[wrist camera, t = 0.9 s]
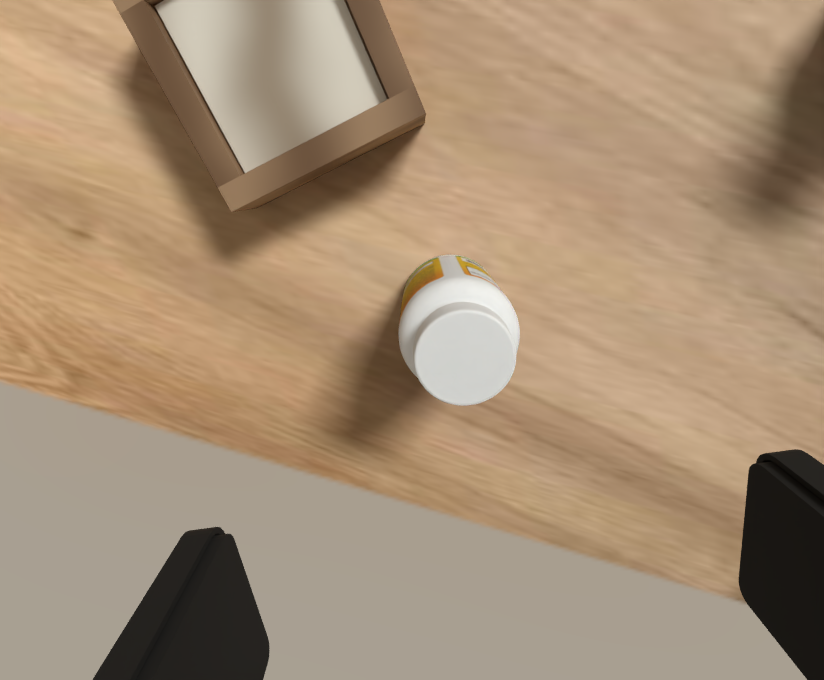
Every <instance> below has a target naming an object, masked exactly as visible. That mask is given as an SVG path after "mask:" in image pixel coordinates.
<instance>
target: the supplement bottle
mask: <svg viewBox="0 0 824 680" xmlns="http://www.w3.org/2000/svg"><path fill="white" fill-rule="evenodd" d="M398 336H399V345H400V350H401V353H402V356H403V358H404V360H405V362H406V364H407V365H408V367H409V369H410V370H411V371H412V373H413V374H414V375H415V376H416V377H417V378H418V379H419V381H420V383H421V384H422V385H423V387H424V388H425V389H426V390H427V391H428V392H429V393H430V394H431V395H433V396H434V397H435V398H437V399H439V400H441V401H443V402H446V403H449V404H453V405H464V406H466V405H474V404H478V403H481V402H484V401H486V400H488V399H490V398H492V397H494V396H495V395H496V394H498V393H499V392H500V391H501V390H502V389H503V388H504V387H505V386H506V385H507V383H508V382H509V380H510V378H511V376H512V374H513V372H514V368H515V364H516V353H517V350H518V346H519V340H520V328H519V322H518V318H517V315H516V313H515V311H514V308H513V306H512V304H511V303H510V301H509V299H508V298H507V297H506V295H505V294H504V293H503V291H502V290H501V289H500V288H499V286H498V285H497V284H496V282H495V281H494V280H493V278H492V277H491V276H490V275H489V273H488V272H487V271H486V270H485V269H484V268H483V267H482V266H481V265H479V264H478V263H477V262H475V261H473V260H471V259H469V258H467V257H464V256H459V255H442V256H438V257H434V258H432V259H430V260H428V261H426V262H424V263H423V264H422V265H420V266H419V267H418V268H417V269H416V270H415V271H414V272H413V273H412V275H411V276H410V277H409V279H408V281H407V283H406V286H405V289H404V292H403V297H402V305H401V313H400V321H399V331H398Z"/></svg>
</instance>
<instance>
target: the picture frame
mask: <svg viewBox="0 0 824 680" xmlns="http://www.w3.org/2000/svg"><path fill="white" fill-rule="evenodd" d="M112 1H113V2H114V4H115V6H116V8H117V10H118V11H119V13H120V15H121V17H122V18H123V20H124V22H125V24H126V26H127V27H128V29H129V31H130V33H131V34H132V36H133V38H134V40H135V42H136V43H137V45H138V47H139V49H140V50H141V52H142V54H143V56H144V58H145V59H146V61H147V63H148V65H149V66H150V68H151V70H152V72H153V74H154V75H155V77H156V79H157V81H158V82H159V84H160V86H161V88H162V90H163V91H164V93H165V95H166V97H167V99H168V100H169V102H170V104H171V106H172V107H173V109H174V111H175V113H176V115H177V116H178V118H179V120H180V122H181V123H182V125H183V127H184V129H185V131H186V132H187V134H188V136H189V138H190V139H191V141H192V143H193V145H194V147H195V148H196V150H197V152H198V154H199V155H200V157H201V159H202V161H203V163H204V164H205V166H206V168H207V170H208V171H209V173H210V175H211V177H212V179H213V180H214V182H215V184H216V186H217V188H218V189H219V191H220V193H221V195H222V196H223V198H224V200H225V202H226V204H227V205H228V207H229V209H230V211H231V212H235V211H240V210H246V209H252V208H258V207H259V206H261V205H263V204H265V203H267V202H269V201H271V200H273V199H275V198H277V197H279V196H281V195H283V194H285V193H287V192H289V191H291V190H293V189H295V188H297V187H299V186H301V185H303V184H305V183H307V182H309V181H311V180H313V179H315V178H317V177H319V176H321V175H323V174H325V173H327V172H329V171H331V170H333V169H335V168H337V167H339V166H341V165H343V164H345V163H347V162H349V161H351V160H353V159H355V158H357V157H359V156H361V155H363V154H365V153H367V152H368V151H370V150H372V149H374V148H376V147H378V146H380V145H382V144H384V143H386V142H388V141H390V140H392V139H394V138H396V137H398V136H400V135H402V134H404V133H406V132H408V131H410V130H412V129H414V128H416V127H418V126H420V125H422V124H424V123H425V116H426V113H425V110H424V108H423V105H422V103H421V100H420V98H419V96H418V93H417V91H416V88H415V86H414V83H413V81H412V79H411V76H410V74H409V71H408V69H407V67H406V64H405V62H404V59H403V57H402V54H401V52H400V50H399V47H398V45H397V42H396V40H395V37H394V35H393V33H392V30H391V28H390V25H389V23H388V20H387V18H386V16H385V13H384V11H383V8H382V6H381V4H380V1H379V0H112Z"/></svg>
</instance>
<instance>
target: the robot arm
mask: <svg viewBox="0 0 824 680" xmlns="http://www.w3.org/2000/svg"><path fill="white" fill-rule="evenodd" d="M739 586H740V590H741V593H742V595H743V597H744V599H745V601H746V602H747V604H748V605H749V607H750V608H751V609H752V610H753V612H754V613H755V614H756V615H757V617H758V618H759V619H760V620H761V622H762V623H763V624H764V626H765V627H766V628H767V629H768V631H769V632H770V633H771V634H772V636H773V637H774V638H775V639H776V641H777V642H778V643H779V644H780V646H781V647H782V648H783V649H784V651H785V652H786V653H787V654H788V656H789V657H790V658H791V659H792V661H793V662H794V663H795V665H796V666H797V667H798V668H799V670H800V671H801V672H802V673H803V675H804V676H805V677H806V678H807V680H824V465H823V464H822V463H820V462H819V461H817V460H816V459H815V458H813V457H812V456H810V455H809V454H807V453H806V452H804V451H802V450H796V449H795V450H787V451H780V452H772V453H765V454H762V455H760V456H759V457H758V459H757V462H756V464H752V465H751V467H750V469H749V474H748V485H747V496H746V507H745V517H744V528H743V539H742V550H741V560H740V571H739ZM268 659H269V641H268V637H267V634H266V631H265V628H264V625H263V622H262V619H261V616H260V614H259V610H258V607H257V605H256V602H255V599H254V596H253V593H252V590H251V587H250V584H249V581H248V578H247V575H246V572H245V569H244V566H243V563H242V560H241V558H240V555H239V552H238V549H237V546H236V543H235V540H234V538H233V536H232V535H231V534H225V533H224V531H223V530H222V529H221V528H220V527H214V528H207V529H198V530H191V531H187V532H185V533H184V534H183V536H182V537H181V538H180V540H179V542H178V543H177V545H176V546H175V548H174V550H173V551H172V553H171V555H170V556H169V558H168V559H167V561H166V563H165V564H164V566H163V567H162V569H161V571H160V572H159V574H158V575H157V577H156V579H155V580H154V582H153V583H152V585H151V587H150V588H149V590H148V591H147V593H146V595H145V596H144V598H143V600H142V601H141V603H140V604H139V606H138V608H137V609H136V611H135V612H134V614H133V616H132V617H131V619H130V620H129V622H128V624H127V625H126V627H125V629H124V630H123V632H122V633H121V635H120V636H119V638H118V640H117V641H116V643H115V644H114V646H113V648H112V649H111V651H110V653H109V654H108V656H107V657H106V659H105V661H104V662H103V664H102V665H101V667H100V669H99V670H98V672H97V673H96V675H95V677H94V678H93V680H263V678H264V674H265V670H266V667H267V663H268Z"/></svg>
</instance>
